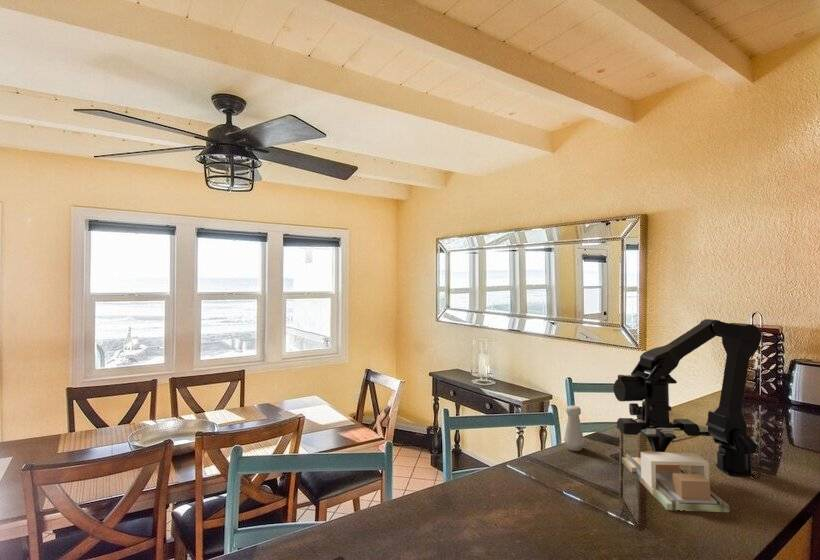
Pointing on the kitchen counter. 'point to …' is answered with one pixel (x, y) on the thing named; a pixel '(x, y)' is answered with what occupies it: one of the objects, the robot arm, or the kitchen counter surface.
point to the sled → (684, 485)
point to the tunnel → (671, 458)
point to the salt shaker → (573, 429)
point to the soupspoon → (702, 429)
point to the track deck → (665, 497)
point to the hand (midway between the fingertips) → (657, 459)
